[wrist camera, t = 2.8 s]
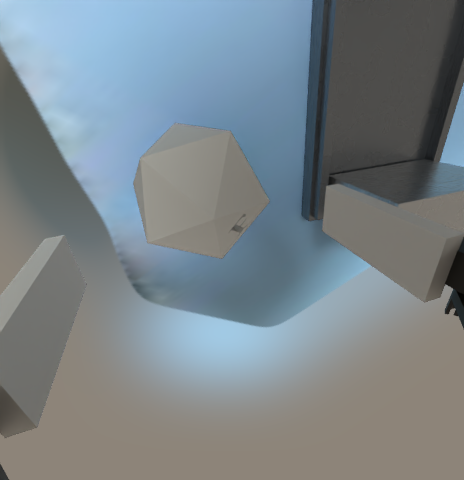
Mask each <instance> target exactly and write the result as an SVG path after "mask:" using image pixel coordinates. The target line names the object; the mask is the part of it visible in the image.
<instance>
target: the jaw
mask: <svg viewBox="0 0 464 480" xmlns="http://www.w3.org/2000/svg"><path fill="white" fill-rule="evenodd" d="M334 184H340V185H343V186H345V187H348V188H350V189H353V190H355V191H358V192H361V193H363V194H366V195H368V196H371V197H373V198H376V199H378V200H381V201H383V202H386V203H388V204H391V205H393V206H396V207H399V208H401V209H404V210H406V211H409V212H411V213H414V214H416V215H419V216H421V217H424V218H426V219H429V220H431V221H434V222H436V223H439V224H442V225H444V226H447V227H449V228H452V229H454V230H457V231H459V232H462V233H464V167H461V166H456V165H451V164H446V163H441V162H436V161H431V160H426V159H422V160H416V161H410V162H405V163H399V164H393V165H387V166H381V167H376V168H370V169H364V170H358V171H353V172H347V173H341V174H335V175H329V182H328V186H329V185H334Z"/></svg>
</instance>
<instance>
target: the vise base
mask: <svg viewBox="0 0 464 480" xmlns="http://www.w3.org/2000/svg"><path fill="white" fill-rule="evenodd" d="M463 82H464V0H313V9H312V28H311V47H310V66H309V85H308V104H307V123H306V142H305V161H304V180H303V199H302V216H303V217H304V218H305V219H307V220H308V221H312V220H320V219H323V216H324V205H325V194H326V186H328V182H329V175H335V174H341V173H347V172H353V171H358V170H364V169H370V168H376V167H381V166H387V165H393V164H399V163H405V162H410V161H416V160H422V159H426V160H431V161H436V162H439V161H440V158H441V155H442V151H443V148H444V145H445V142H446V138H447V135H448V132H449V128H450V125H451V122H452V118H453V115H454V112H455V109H456V105H457V102H458V99H459V95H460V92H461V89H462V86H463Z"/></svg>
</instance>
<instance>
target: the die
mask: <svg viewBox="0 0 464 480" xmlns="http://www.w3.org/2000/svg"><path fill="white" fill-rule="evenodd" d="M133 185H134V189H135V193H136V197H137V201H138V206H139V210H140V214H141V218H142V222H143V226H144V231H145V235H146V239H147V243H150V244H154V245H159V246H164V247H169V248H173V249H178V250H183V251H188V252H192V253H197V254H202V255H206V256H211V257H216V258H221V259H222V258H223V257H224V256H225V255H226V254H227V252H228V251H229V250H230V249H231V248H232V246H233V245H234V244H235V243H236V242H237V240H238V239H239V238H240V237H241V236H242V234H243V233H244V232H245V231H246V230H247V228H248V227H249V226H250V225H251V224H252V222H253V221H254V220H255V219H256V218H257V216H258V215H259V214H260V213H261V212H262V210H263V209H264V208H265V207H266V206H267V204H268V203H269V202H270V201H269V199H268V197H267V195H266V193H265V192H264V190H263V188H262V186H261V184H260V183H259V181H258V179H257V177H256V175H255V174H254V172H253V170H252V168H251V166H250V164H249V163H248V161H247V159H246V157H245V155H244V154H243V152H242V150H241V148H240V146H239V145H238V143H237V141H236V140H235V138H234V136H233V134H232V133H231V131H227V130H220V129H214V128H207V127H200V126H193V125H186V124H179V123H174V124H173V125H172V126H171V127H170V128H169V129H168V130H167V131H166V132H165V133H164V134H163V135H162V136H161V137H160V138H159V139H158V140H157V141H156V143H155V144H154V145H153V146H152V147H151V148H150V149H149V150H148V151H147V152H146V153H145V154H144V155H143V156H142V157H141V158H140V161H139V165H138V168H137V172H136V176H135V179H134V183H133Z"/></svg>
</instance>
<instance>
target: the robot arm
mask: <svg viewBox="0 0 464 480" xmlns="http://www.w3.org/2000/svg"><path fill="white" fill-rule="evenodd" d="M322 231H323V232H324V233H326V234H327V235H329V236H330V237H331V238H333V239H334V240H336V241H337V242H339V243H340V244H341V245H343V246H344V247H346V248H347V249H349V250H350V251H351V252H353V253H354V254H356V255H357V256H359V257H360V258H361V259H363V260H364V261H366V262H367V263H368V264H370V265H371V266H373V267H374V268H376V269H377V270H378V271H380V272H381V273H383V274H384V275H386V276H387V277H389V278H390V279H391V280H393V281H394V282H396V283H397V284H399V285H400V286H401V287H403V288H404V289H406V290H407V291H408V292H410V293H411V294H413V295H414V296H415V297H417V298H419V299H420V300H421V301H423V302H428V301H430V300H434V299H437V298H440V297H441V294H442V291H443V289H444V286H445V284H446V285H448V286H450V287H451V288H453V291H452V294H451V296H450V299H449V301H448V303H447V306H446V308H445V314H449V312H450V310H451V309H452V308H455V309H456V310H455V313H454V315H455V316H459V318H460V321H461V323H462V326H463V328H464V233H462V232H459V231H457V230H454V229H452V228H449V227H447V226H444V225H442V224H439V223H436V222H434V221H431V220H429V219H426V218H424V217H421V216H419V215H416V214H414V213H411V212H409V211H406V210H404V209H401V208H399V207H396V206H393V205H391V204H388V203H386V202H383V201H381V200H378V199H376V198H373V197H371V196H368V195H366V194H363V193H361V192H358V191H355V190H353V189H350V188H348V187H345V186H343V185H340V184H334V185H329V186H326V194H325V205H324V216H323V227H322ZM86 285H87V284H86V282H85V280H84V277H83V275H82V273H81V271H80V268H79V266H78V264H77V262H76V260H75V257H74V255H73V253H72V251H71V249H70V246H69V244H68V242H67V240H66V237H65V235H62V236H57V237H51V238H46V239H44V241H43V242H42V243H41V245H40V246H39V247H38V248H37V250H36V251H35V252H34V253H33V255H32V256H31V257H30V259H29V260H28V261H27V263H26V264H25V265H24V266H23V268H22V269H21V270H20V271H19V273H18V274H17V275H16V276H15V278H14V279H13V280H12V282H11V283H10V284H9V285H8V286H7V288H6V289H5V290H4V292H3V293H2V294H1V295H0V433H1V434H2V435H3V436H4V437H5V438H7V437H10V436H12V435H16V434H19V433H22V432H25V431H28V430H31V429H34V428H37V427H38V424H39V421H40V418H41V415H42V412H43V409H44V406H45V403H46V401H47V398H48V395H49V392H50V389H51V386H52V383H53V380H54V377H55V375H56V372H57V369H58V366H59V363H60V360H61V357H62V354H63V352H64V349H65V346H66V342H67V340H68V337H69V334H70V331H71V328H72V326H73V323H74V320H75V317H76V314H77V311H78V308H79V305H80V302H81V299H82V297H83V294H84V290H85V288H86ZM0 480H9V479H8V477H7V475H6V473H5V472H4V470H3V468H2V466H1V465H0Z"/></svg>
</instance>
